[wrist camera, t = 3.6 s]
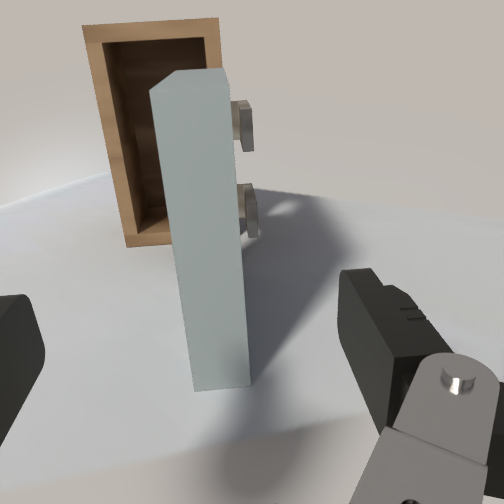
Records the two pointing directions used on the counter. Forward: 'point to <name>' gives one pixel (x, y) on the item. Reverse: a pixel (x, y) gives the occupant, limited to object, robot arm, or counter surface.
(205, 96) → the door
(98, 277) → the counter surface
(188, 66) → the cabinet
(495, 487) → the robot arm
